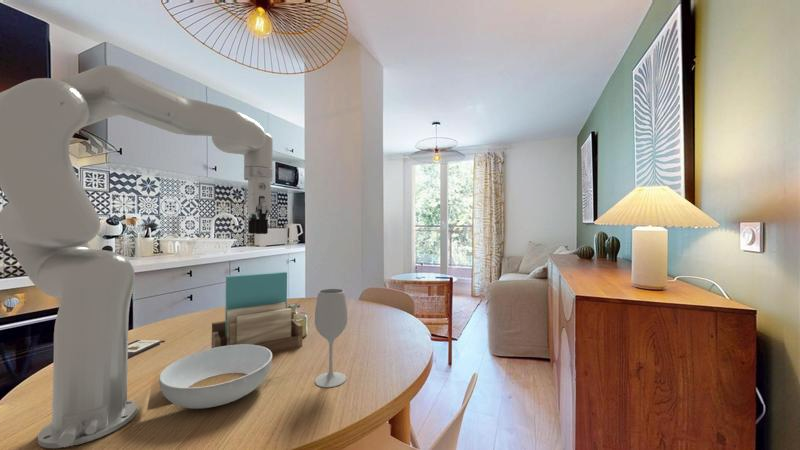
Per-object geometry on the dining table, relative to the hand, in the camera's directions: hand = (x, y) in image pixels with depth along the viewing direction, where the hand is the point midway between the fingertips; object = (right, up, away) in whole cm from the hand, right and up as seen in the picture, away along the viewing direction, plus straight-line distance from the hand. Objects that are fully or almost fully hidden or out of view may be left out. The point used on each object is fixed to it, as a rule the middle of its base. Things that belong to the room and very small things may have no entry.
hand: (257, 233), depth 89 cm
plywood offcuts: (+2, -33, -4) cm, 33 cm away
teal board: (0, -33, -1) cm, 33 cm away
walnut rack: (+1, -34, -2) cm, 34 cm away
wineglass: (+25, -34, -17) cm, 46 cm away
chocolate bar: (-37, -35, -2) cm, 51 cm away
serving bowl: (+3, -34, -23) cm, 41 cm away
